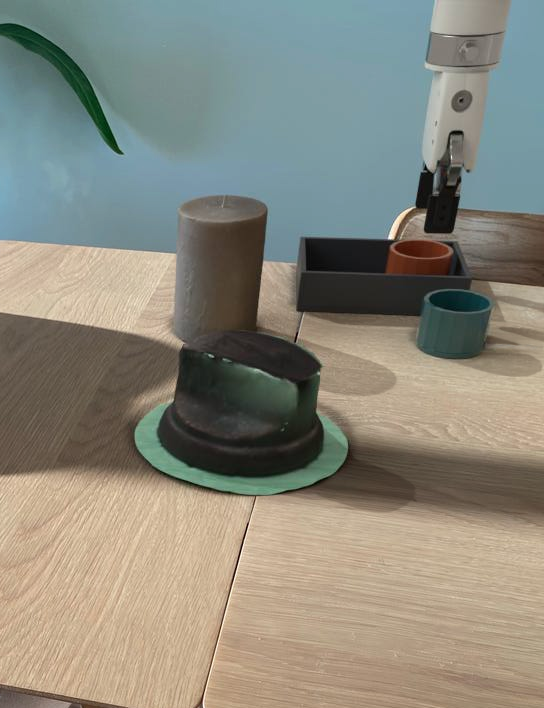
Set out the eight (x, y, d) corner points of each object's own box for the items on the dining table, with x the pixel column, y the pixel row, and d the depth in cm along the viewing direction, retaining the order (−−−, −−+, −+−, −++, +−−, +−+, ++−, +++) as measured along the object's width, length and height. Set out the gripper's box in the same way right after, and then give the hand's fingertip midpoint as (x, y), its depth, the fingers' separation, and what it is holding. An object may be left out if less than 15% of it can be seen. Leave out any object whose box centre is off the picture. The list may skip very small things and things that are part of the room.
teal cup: (477, 334, 110) (489, 290, 107) (487, 360, 105) (499, 315, 102) (412, 331, 111) (421, 287, 108) (418, 357, 106) (427, 312, 103)
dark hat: (382, 408, 95) (327, 514, 82) (217, 456, 107) (146, 555, 93) (327, 263, 89) (258, 351, 76) (159, 330, 101) (74, 417, 87)
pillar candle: (273, 329, 113) (288, 191, 103) (222, 355, 108) (234, 213, 98) (205, 309, 118) (214, 176, 109) (154, 333, 113) (159, 196, 103)
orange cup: (440, 281, 122) (449, 240, 119) (447, 302, 116) (456, 260, 113) (380, 279, 123) (388, 238, 120) (384, 300, 117) (392, 257, 114)
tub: (449, 278, 124) (457, 241, 121) (463, 317, 114) (472, 278, 111) (295, 272, 127) (300, 236, 124) (296, 311, 117) (301, 272, 114)
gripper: (515, 64, 96) (477, 243, 107) (488, 37, 109) (457, 199, 120) (435, 66, 97) (406, 243, 108) (418, 39, 110) (393, 199, 121)
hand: (433, 219), depth 114 cm, fingers open, 9 cm apart
